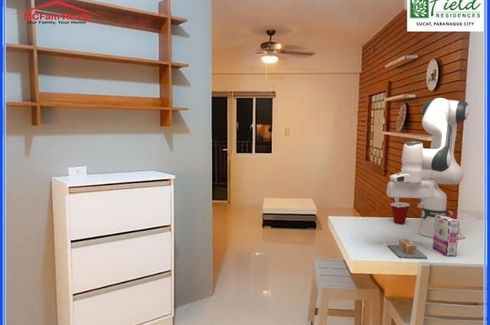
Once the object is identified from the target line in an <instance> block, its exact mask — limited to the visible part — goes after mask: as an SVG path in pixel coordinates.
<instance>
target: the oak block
mask: <svg viewBox="0 0 490 325" xmlns="http://www.w3.org/2000/svg"><path fill="white" fill-rule="evenodd" d="M398 245H399V248H400V249H401V250H402V251H403V252H404V253H406V254H407V255H416V249H417V245H415V244H414V243H413V241H410V240H409V239H404V238H403V239H402V238H401V239H400V238H399V239H398Z"/></svg>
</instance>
